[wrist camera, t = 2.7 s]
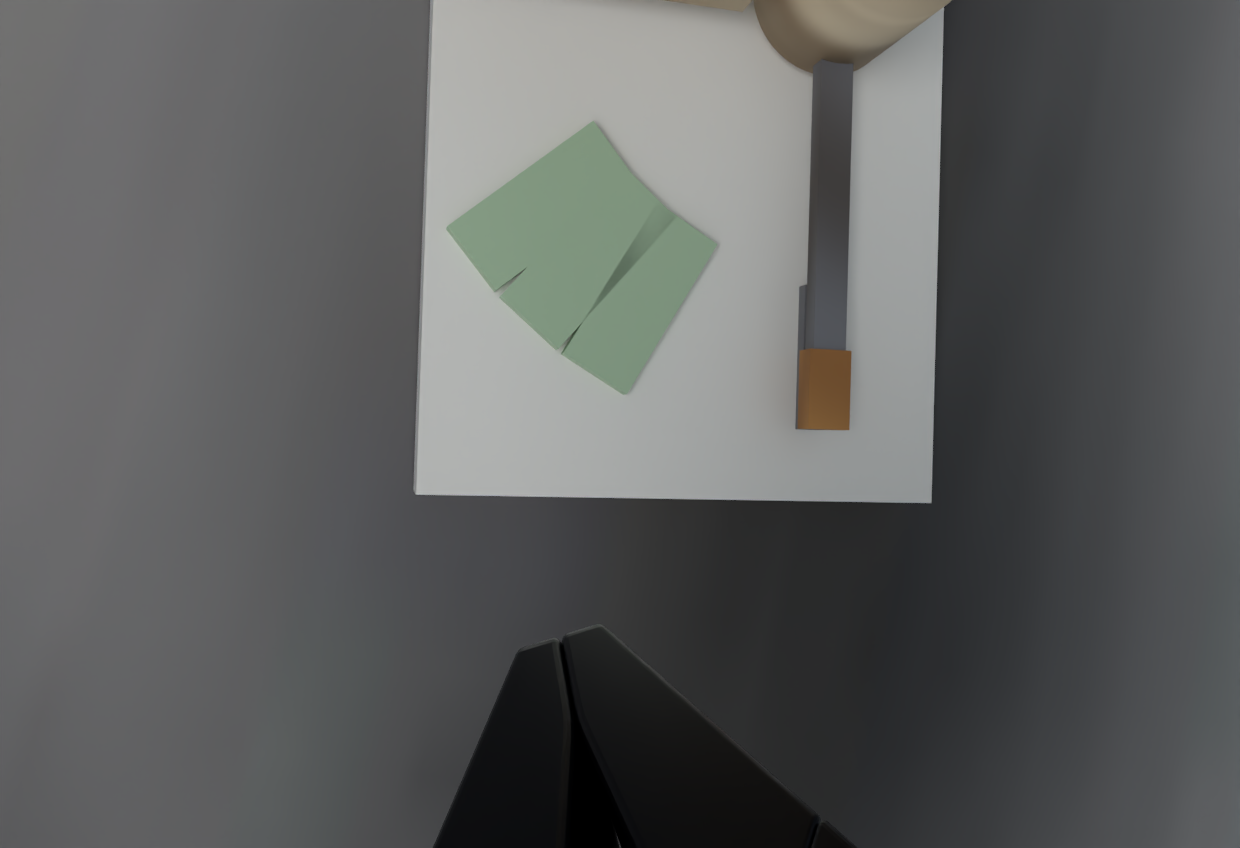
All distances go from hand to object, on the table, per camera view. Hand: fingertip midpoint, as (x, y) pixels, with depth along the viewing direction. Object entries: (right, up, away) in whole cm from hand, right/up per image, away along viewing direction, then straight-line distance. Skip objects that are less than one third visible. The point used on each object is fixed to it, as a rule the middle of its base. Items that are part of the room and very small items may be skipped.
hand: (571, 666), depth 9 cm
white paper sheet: (+2, +7, +12) cm, 14 cm away
